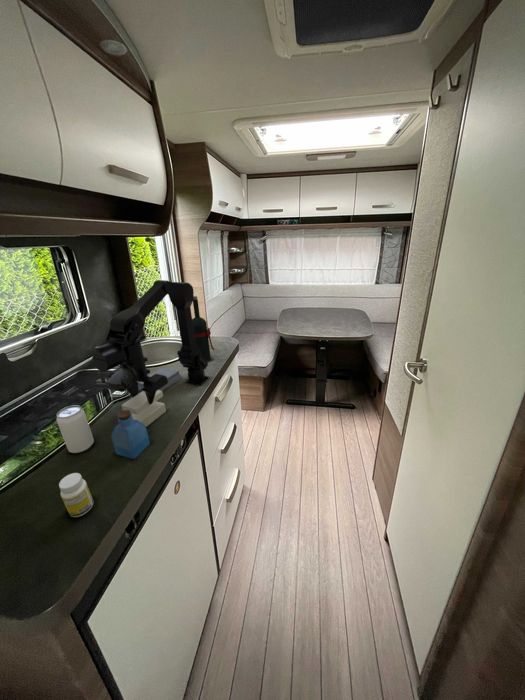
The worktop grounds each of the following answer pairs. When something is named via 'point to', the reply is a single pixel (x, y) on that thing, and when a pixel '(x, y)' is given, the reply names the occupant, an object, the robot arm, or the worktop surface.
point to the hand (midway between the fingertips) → (143, 401)
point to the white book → (140, 402)
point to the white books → (150, 413)
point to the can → (75, 429)
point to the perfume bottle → (129, 436)
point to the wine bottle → (201, 332)
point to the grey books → (169, 373)
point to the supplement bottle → (75, 495)
